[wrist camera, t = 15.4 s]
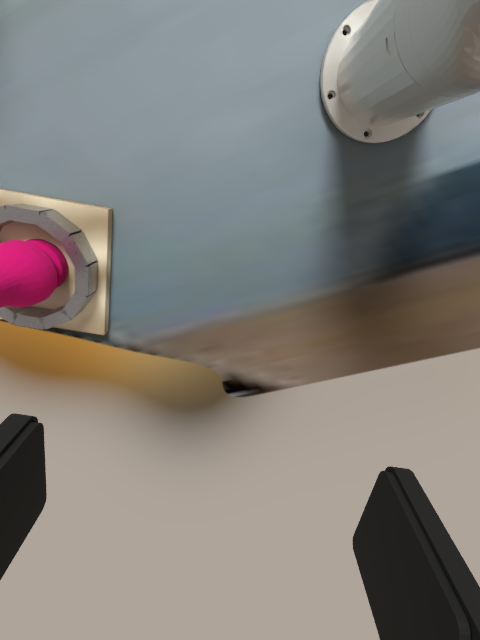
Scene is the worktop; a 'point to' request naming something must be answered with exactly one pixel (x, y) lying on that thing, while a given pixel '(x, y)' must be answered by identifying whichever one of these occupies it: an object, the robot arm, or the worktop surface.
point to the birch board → (99, 236)
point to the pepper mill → (29, 271)
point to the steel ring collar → (76, 251)
